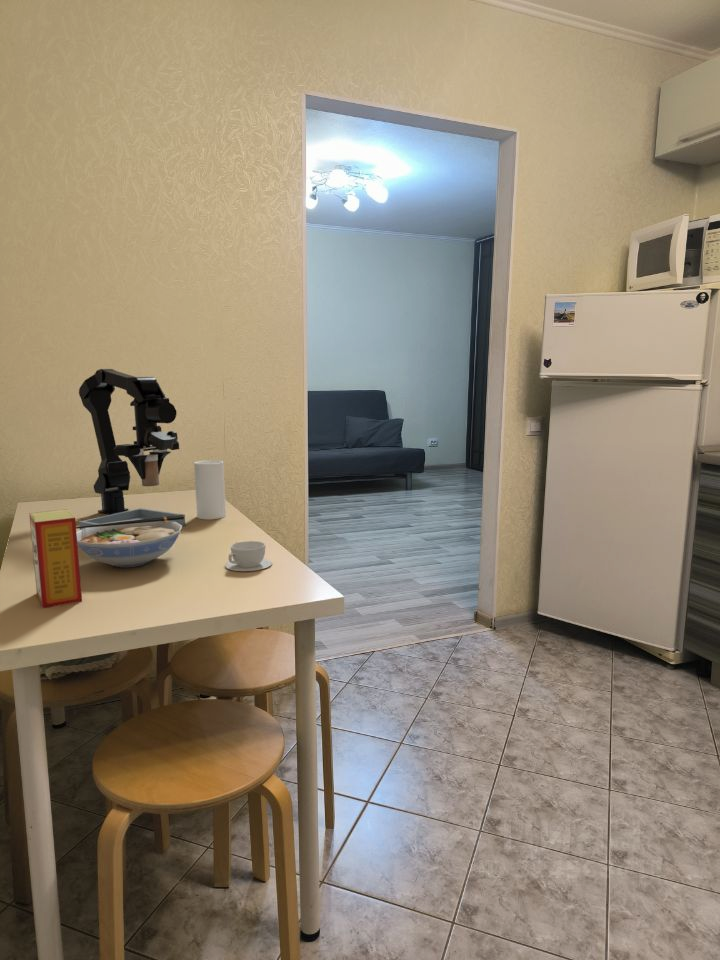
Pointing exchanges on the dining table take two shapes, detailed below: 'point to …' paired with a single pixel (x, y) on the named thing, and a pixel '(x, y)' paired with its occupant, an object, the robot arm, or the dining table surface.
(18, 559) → the dining table surface
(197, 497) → the cup
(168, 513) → the tray
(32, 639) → the dining table surface
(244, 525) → the dining table surface
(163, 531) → the ramen bowl
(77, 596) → the baking soda box
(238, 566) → the teacup
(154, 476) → the shaker
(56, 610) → the dining table surface
